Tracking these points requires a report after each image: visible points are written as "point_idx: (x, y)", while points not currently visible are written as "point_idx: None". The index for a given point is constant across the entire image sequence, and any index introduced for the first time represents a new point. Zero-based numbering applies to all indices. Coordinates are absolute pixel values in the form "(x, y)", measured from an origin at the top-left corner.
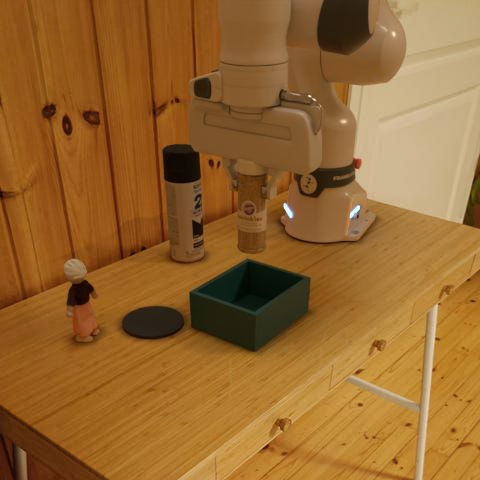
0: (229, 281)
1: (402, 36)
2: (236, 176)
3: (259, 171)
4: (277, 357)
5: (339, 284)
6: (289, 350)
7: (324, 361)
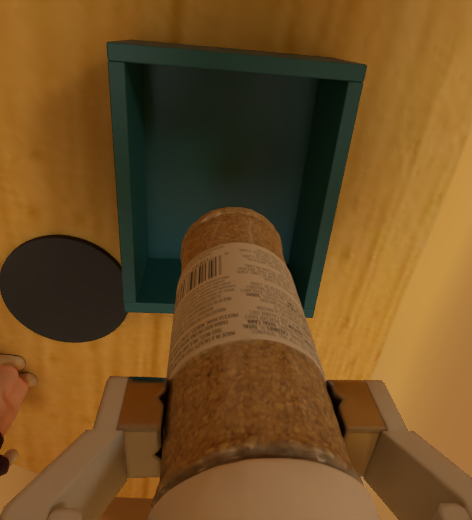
0: (134, 164)
1: None
2: (122, 459)
3: None
4: (340, 265)
5: None
6: (353, 234)
7: (426, 232)
